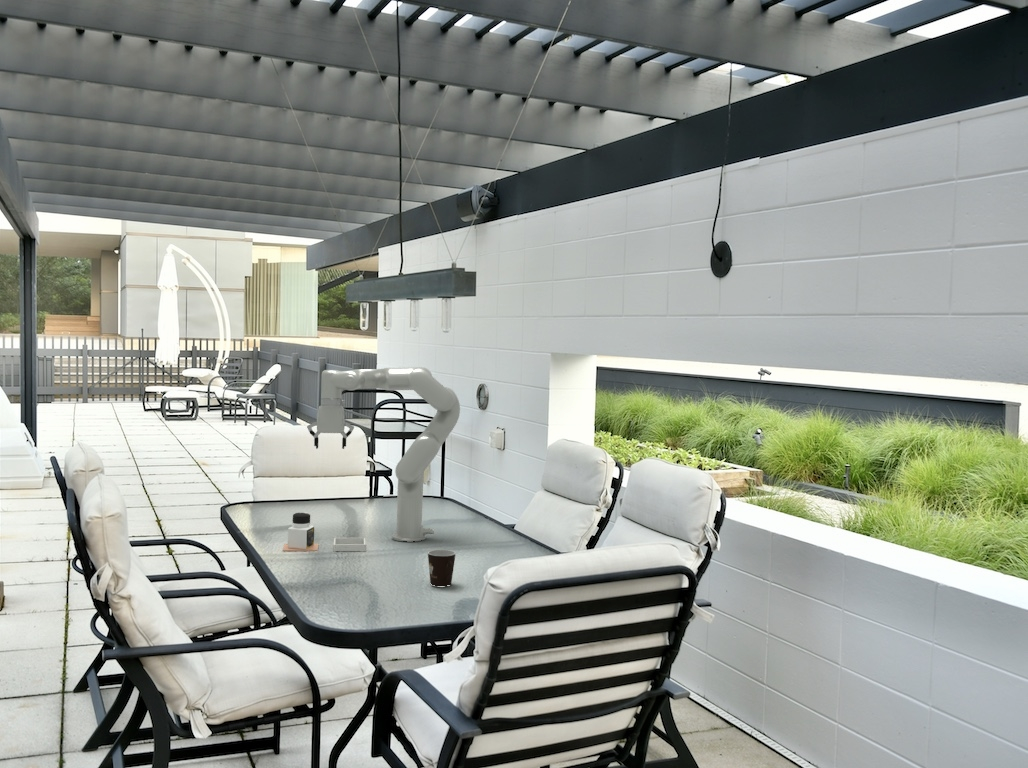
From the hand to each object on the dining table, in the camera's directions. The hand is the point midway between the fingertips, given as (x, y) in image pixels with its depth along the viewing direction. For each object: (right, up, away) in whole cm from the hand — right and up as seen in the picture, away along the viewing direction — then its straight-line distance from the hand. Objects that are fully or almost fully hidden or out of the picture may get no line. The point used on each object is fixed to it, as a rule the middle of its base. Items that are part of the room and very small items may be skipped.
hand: (330, 448), depth 352 cm
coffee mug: (+46, -38, -63) cm, 87 cm away
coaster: (-7, -34, -19) cm, 40 cm away
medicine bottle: (-7, -34, -19) cm, 40 cm away
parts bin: (+10, -35, -17) cm, 40 cm away
